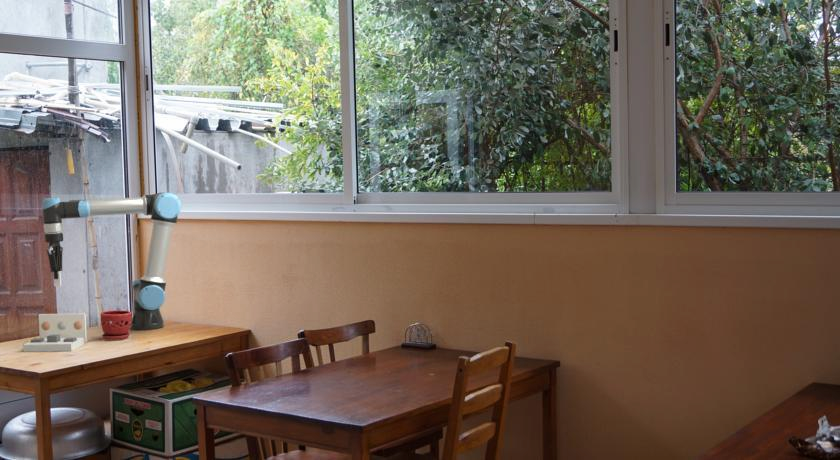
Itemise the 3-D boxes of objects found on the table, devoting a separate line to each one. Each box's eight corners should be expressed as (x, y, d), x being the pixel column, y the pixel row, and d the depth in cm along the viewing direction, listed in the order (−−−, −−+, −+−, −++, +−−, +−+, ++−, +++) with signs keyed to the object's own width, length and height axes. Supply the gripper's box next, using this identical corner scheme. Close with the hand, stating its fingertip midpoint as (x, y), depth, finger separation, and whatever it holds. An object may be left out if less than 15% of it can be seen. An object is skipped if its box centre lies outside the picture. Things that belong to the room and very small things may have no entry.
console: (83, 344, 402) (83, 337, 402) (71, 351, 388) (70, 343, 388) (37, 345, 403) (37, 338, 402) (23, 351, 389) (23, 344, 388)
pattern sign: (88, 342, 408) (87, 312, 407) (84, 344, 403) (82, 314, 402) (42, 342, 408) (41, 313, 407) (38, 345, 403) (36, 315, 402)
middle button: (60, 341, 397) (60, 334, 397) (56, 343, 393) (56, 336, 393) (51, 341, 397) (50, 334, 397) (47, 343, 393) (46, 336, 393)
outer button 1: (77, 344, 397) (76, 337, 397) (73, 346, 393) (73, 339, 393) (67, 344, 397) (67, 337, 397) (63, 346, 393) (63, 339, 393)
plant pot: (108, 342, 406) (107, 315, 405) (96, 338, 416) (95, 312, 415) (137, 338, 414) (136, 311, 414) (124, 334, 424) (123, 308, 423)
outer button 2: (44, 345, 397) (43, 338, 397) (40, 346, 393) (40, 339, 393) (34, 345, 397) (34, 338, 397) (30, 346, 393) (30, 339, 393)
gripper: (50, 232, 417) (54, 284, 419) (39, 234, 404) (43, 288, 406) (67, 231, 418) (71, 283, 419) (56, 233, 405) (61, 287, 406)
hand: (57, 286), depth 413 cm, fingers closed
